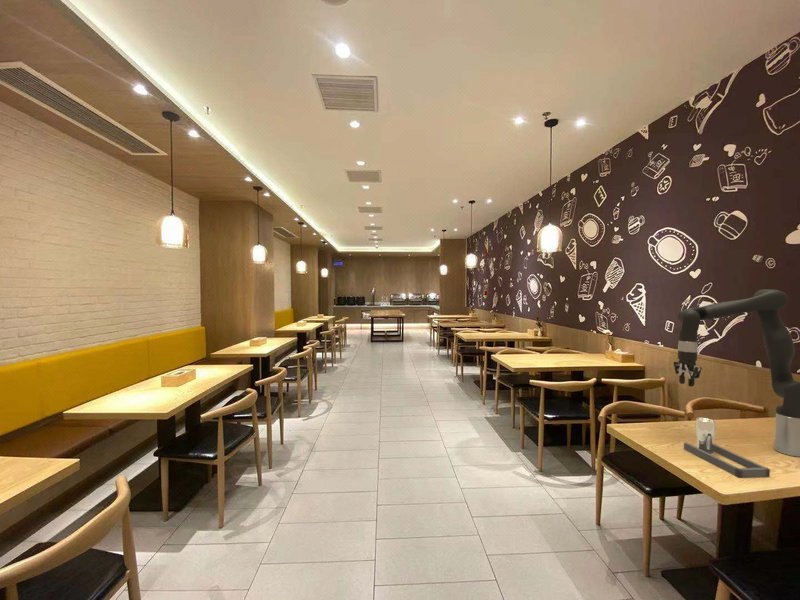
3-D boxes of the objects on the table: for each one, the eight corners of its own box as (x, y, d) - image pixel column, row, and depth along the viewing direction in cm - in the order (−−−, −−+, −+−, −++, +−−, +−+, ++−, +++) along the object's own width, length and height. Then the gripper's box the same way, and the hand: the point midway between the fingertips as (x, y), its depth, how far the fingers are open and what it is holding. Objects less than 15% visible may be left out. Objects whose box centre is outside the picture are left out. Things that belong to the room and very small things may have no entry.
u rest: (709, 448, 169) (710, 441, 169) (769, 476, 143) (769, 469, 143) (683, 448, 168) (683, 442, 168) (739, 477, 142) (739, 470, 142)
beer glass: (707, 456, 160) (708, 423, 159) (691, 450, 167) (692, 417, 166) (718, 455, 162) (720, 422, 161) (702, 448, 169) (703, 416, 168)
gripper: (708, 352, 170) (706, 388, 171) (682, 347, 184) (681, 381, 185) (693, 352, 170) (692, 389, 170) (668, 347, 184) (667, 381, 184)
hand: (686, 384), depth 177 cm, fingers open, 4 cm apart
